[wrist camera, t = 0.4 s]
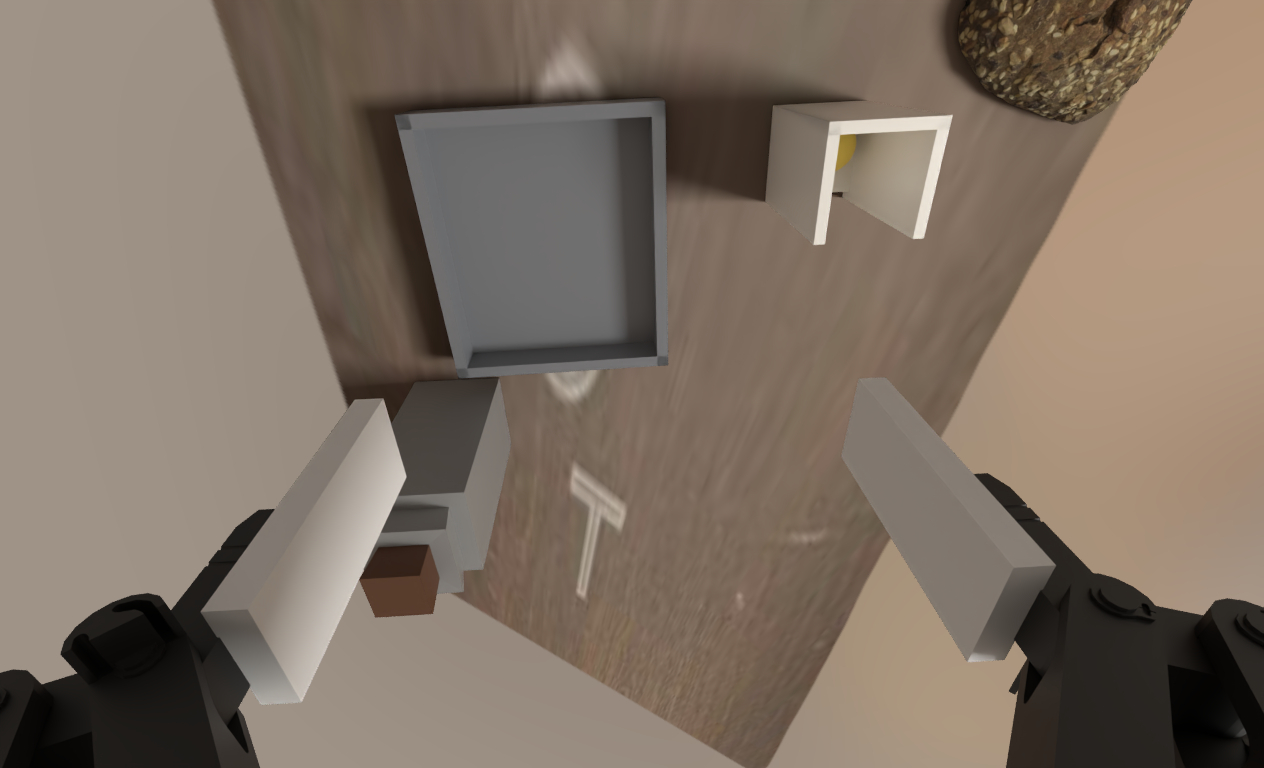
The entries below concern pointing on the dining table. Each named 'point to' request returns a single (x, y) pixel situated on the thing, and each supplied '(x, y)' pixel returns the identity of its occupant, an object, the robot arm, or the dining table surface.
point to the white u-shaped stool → (855, 163)
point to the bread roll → (1065, 50)
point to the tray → (545, 232)
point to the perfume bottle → (440, 494)
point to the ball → (845, 150)
